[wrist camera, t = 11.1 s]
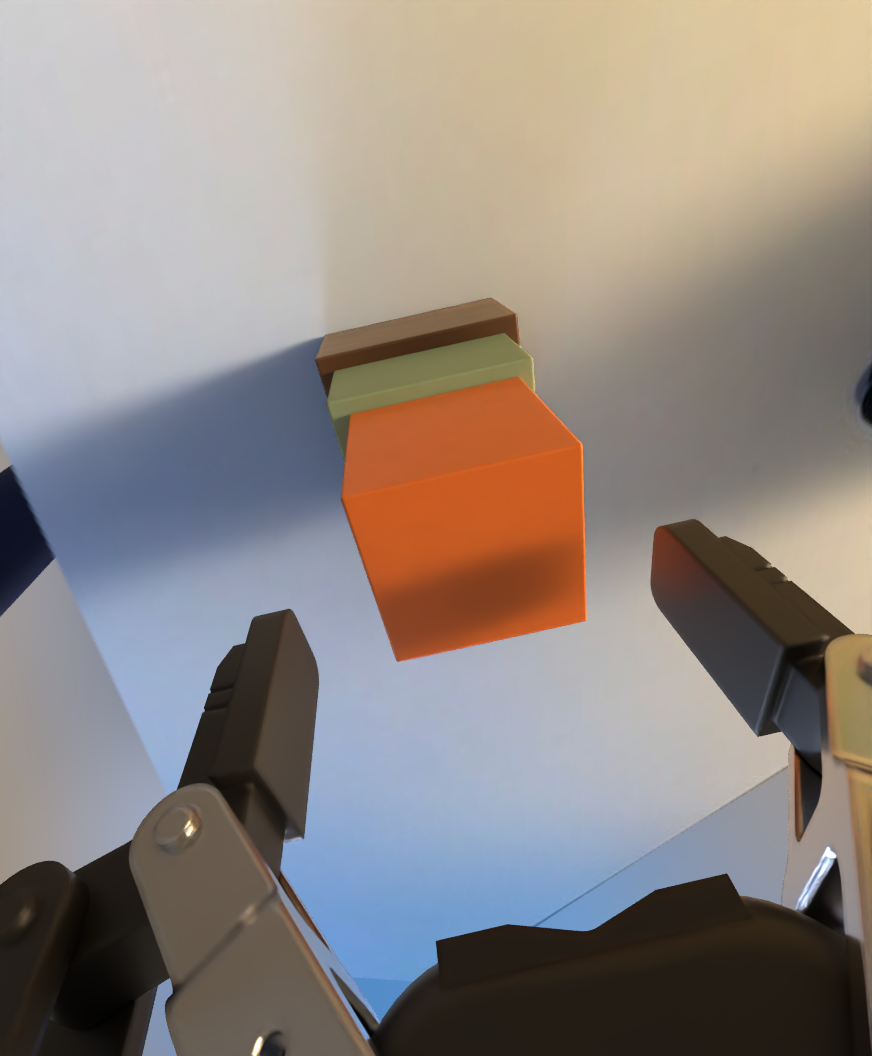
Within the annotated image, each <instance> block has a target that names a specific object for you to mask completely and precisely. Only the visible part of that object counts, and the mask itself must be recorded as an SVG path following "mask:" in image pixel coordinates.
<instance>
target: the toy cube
mask: <svg viewBox="0 0 872 1056" xmlns="http://www.w3.org/2000/svg"><path fill="white" fill-rule="evenodd" d="M341 502H342V505H343V508H344V510H345V513H346V516H347V519H348V522H349V525H350V528H351V531H352V534H353V537H354V539H355V542H356V545H357V548H358V551H359V554H360V557H361V560H362V563H363V565H364V568H365V571H366V574H367V577H368V580H369V583H370V586H371V589H372V592H373V594H374V597H375V600H376V603H377V606H378V609H379V612H380V615H381V618H382V621H383V623H384V626H385V629H386V632H387V635H388V638H389V641H390V644H391V647H392V649H393V652H394V655H395V658H396V660H397V662H402V661H407V660H411V659H416V658H420V657H425V656H429V655H434V654H439V653H443V652H448V651H452V650H457V649H461V648H466V647H470V646H475V645H479V644H484V643H488V642H493V641H497V640H502V639H507V638H511V637H516V636H520V635H525V634H529V633H534V632H538V631H543V630H547V629H552V628H556V627H561V626H565V625H570V624H575V623H579V622H584V621H586V574H585V529H584V484H583V445H582V443H581V442H580V441H579V440H578V439H577V438H576V437H575V436H574V435H573V434H572V433H571V432H570V431H569V430H568V428H567V427H566V426H565V425H564V424H563V423H562V422H561V421H560V420H559V419H558V418H557V417H556V416H555V415H554V413H553V412H552V411H551V410H550V409H549V408H548V407H547V406H546V405H545V404H544V403H543V402H542V401H541V400H540V398H539V397H538V396H537V395H536V394H535V393H534V392H533V391H532V390H531V389H530V388H529V387H528V386H527V385H526V384H525V382H524V381H523V380H522V379H521V378H520V377H514V378H510V379H505V380H501V381H496V382H492V383H487V384H483V385H478V386H474V387H469V388H465V389H461V390H456V391H452V392H447V393H443V394H438V395H434V396H429V397H425V398H420V399H416V400H412V401H407V402H403V403H398V404H394V405H389V406H385V407H380V408H376V409H371V410H367V411H363V412H358V413H354V414H351V415H350V416H349V426H348V435H347V445H346V454H345V464H344V474H343V483H342V493H341Z"/></svg>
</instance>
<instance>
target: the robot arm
mask: <svg viewBox="0 0 872 1056" xmlns="http://www.w3.org/2000/svg"><path fill="white" fill-rule="evenodd" d="M651 590H652V594H653V597H654V600H655V602H656V604H657V606H658V608H659V609H660V611H661V612H662V613H663V615H664V616H665V617H666V618H667V620H668V621H669V622H670V624H671V625H672V626H673V628H674V629H675V630H676V631H677V633H678V634H679V635H680V637H681V638H682V639H683V641H684V642H685V643H686V644H687V646H688V647H689V648H690V650H691V651H692V652H693V654H694V655H695V656H696V657H697V659H698V660H699V661H700V663H701V664H702V665H703V667H704V668H705V669H706V670H707V672H708V673H709V674H710V676H711V677H712V678H713V680H714V681H715V682H716V683H717V685H718V686H719V687H720V689H721V690H722V691H723V693H724V694H725V695H726V696H727V698H728V699H729V700H730V702H731V703H732V704H733V706H734V707H735V708H736V709H737V711H738V712H739V713H740V715H741V716H742V717H743V719H744V720H745V721H746V722H747V724H748V725H749V726H750V728H751V729H752V730H753V732H754V733H755V734H756V735H757V737H759V736H764V735H768V734H772V733H777V732H781V731H782V732H783V733H784V735H785V736H786V737H787V738H788V739H789V741H790V742H791V745H790V748H789V753H788V857H787V865H786V870H785V875H784V880H783V887H782V896H781V905H779V904H775V903H773V902H769V901H766V900H762V899H757V898H752V897H747V896H739V894H738V892H737V890H736V889H735V887H734V885H733V883H732V881H731V880H730V878H729V876H728V874H722V875H718V876H714V877H710V878H706V879H701V880H697V881H692V882H688V883H684V884H680V885H675V886H671V887H667V888H662V889H658V890H655V891H653V892H652V893H650V894H649V895H647V896H646V897H644V898H642V899H641V900H639V901H638V902H636V903H635V904H633V905H632V906H630V907H628V908H627V909H625V910H624V911H622V912H621V913H619V914H618V915H616V916H614V917H613V918H611V919H610V920H608V921H606V922H605V923H603V924H602V925H601V926H599V927H597V928H595V929H593V930H590V931H572V930H562V929H551V928H540V927H530V926H520V925H509V924H507V925H503V926H498V927H494V928H490V929H486V930H481V931H477V932H473V933H468V934H464V935H460V936H455V937H451V938H447V939H442V940H438V941H436V947H437V957H438V963H437V964H436V965H434V966H433V967H431V968H429V969H428V970H426V971H425V972H424V973H423V974H422V975H421V976H419V977H418V978H417V979H416V980H415V981H413V982H412V983H411V984H410V985H409V986H408V987H407V988H406V990H405V991H404V992H403V993H402V994H401V995H400V996H399V997H398V998H397V999H396V1001H395V1002H394V1004H393V1005H392V1006H391V1008H390V1009H389V1010H388V1012H387V1013H386V1014H385V1016H384V1017H383V1019H382V1020H381V1021H380V1019H379V1018H378V1016H377V1015H376V1013H375V1011H374V1010H373V1008H372V1007H371V1005H370V1004H369V1002H368V1001H367V1000H366V998H365V996H364V995H363V993H362V992H361V990H360V989H359V987H358V986H357V984H356V983H355V981H354V980H353V979H352V977H351V976H350V974H349V973H348V972H347V970H346V969H345V967H344V966H343V965H342V963H341V962H340V960H339V959H338V957H337V956H336V954H335V953H334V951H333V949H332V948H331V946H330V945H329V943H328V942H327V940H326V938H325V937H324V935H323V934H322V932H321V931H320V929H319V927H318V926H317V924H316V923H315V921H314V920H313V918H312V916H311V915H310V913H309V912H308V910H307V909H306V907H305V905H304V904H303V902H302V901H301V899H300V898H299V896H298V894H297V893H296V891H295V890H294V888H293V887H292V885H291V883H290V882H289V880H288V879H287V877H286V876H285V874H284V872H283V871H282V870H281V868H280V866H281V858H282V851H283V844H284V843H288V842H292V841H297V840H301V839H304V833H305V823H306V812H307V802H308V792H309V781H310V771H311V761H312V750H313V740H314V730H315V719H316V709H317V699H318V689H319V675H318V668H317V663H316V660H315V657H314V655H313V652H312V650H311V648H310V646H309V644H308V642H307V640H306V637H305V635H304V633H303V631H302V629H301V627H300V624H299V622H298V620H297V618H296V616H295V614H294V612H293V611H292V610H291V609H286V610H282V611H277V612H273V613H268V614H264V615H259V616H256V617H254V618H253V619H252V622H251V625H250V628H249V632H248V635H247V639H246V643H245V644H240V645H236V646H233V647H232V649H231V650H230V651H229V653H228V654H227V655H226V657H225V658H224V659H223V661H222V662H221V663H220V665H219V666H218V667H217V670H216V673H215V676H214V679H213V682H212V685H211V688H210V690H211V693H210V694H208V697H207V700H206V704H205V707H204V709H205V712H203V713H202V716H201V719H200V722H199V725H198V728H197V731H196V734H195V737H194V740H193V743H192V746H191V749H190V752H189V755H188V758H187V761H186V764H185V767H184V770H183V773H182V776H181V779H180V782H179V785H178V788H177V790H176V791H174V792H172V793H171V794H169V795H168V796H166V797H165V798H164V799H162V801H160V802H159V803H158V804H157V805H156V806H155V807H154V808H153V809H152V810H151V811H150V812H149V813H148V814H147V816H146V817H145V818H144V819H143V821H142V822H141V824H140V826H139V827H138V829H137V831H136V833H135V835H134V837H133V839H132V840H131V841H129V842H128V843H126V844H124V845H122V846H121V847H119V848H117V849H115V850H113V851H112V852H109V853H108V854H106V855H104V856H102V857H101V858H98V859H97V860H95V861H93V862H91V863H89V864H87V865H86V866H84V867H82V868H80V869H78V870H76V871H75V872H72V871H70V870H69V869H68V868H66V867H65V866H64V865H62V864H61V863H59V862H55V861H43V862H39V863H36V864H33V865H31V866H28V867H26V868H25V869H22V870H20V871H19V872H17V873H16V874H14V875H13V876H11V877H10V878H9V879H7V880H6V881H5V882H3V883H2V884H1V885H0V1056H142V1053H143V1049H144V1044H145V1040H146V1035H147V1031H148V1027H149V1022H150V1018H151V1014H152V1009H153V1005H154V1001H155V996H156V992H157V987H158V985H159V984H161V983H162V982H164V981H165V980H167V979H169V978H170V979H171V982H172V988H173V994H172V995H171V996H170V997H169V998H168V999H167V1001H166V1004H165V1014H166V1021H167V1025H168V1029H169V1032H170V1036H171V1039H172V1042H173V1045H174V1048H175V1051H176V1054H177V1056H872V635H868V634H855V633H853V632H852V631H851V630H850V629H849V628H847V627H846V626H845V625H844V624H843V623H841V622H840V621H839V620H838V619H837V618H835V617H834V616H833V615H832V614H831V613H829V612H828V611H827V610H826V609H825V608H823V607H822V606H821V605H820V604H819V603H817V602H816V601H815V600H814V599H813V598H811V597H810V596H809V595H808V594H807V593H805V592H804V591H803V590H802V589H801V588H799V587H798V586H797V585H796V584H795V583H793V582H792V581H788V580H787V577H786V576H785V575H784V574H783V573H781V572H780V571H779V570H778V569H777V568H775V567H773V568H772V567H771V563H769V562H768V561H767V560H766V559H765V558H763V557H762V556H761V555H760V554H759V553H757V552H756V551H755V550H754V549H753V548H751V547H749V546H746V545H744V544H742V543H740V542H738V541H735V540H733V539H731V538H729V537H726V536H724V537H720V538H718V537H717V536H716V535H714V534H713V533H712V532H711V531H710V530H709V529H708V528H706V527H705V526H704V525H703V524H702V523H701V522H699V521H698V520H696V519H691V520H686V521H682V522H677V523H673V524H668V525H664V526H660V527H658V528H657V529H656V530H655V533H654V542H653V555H652V568H651Z"/></svg>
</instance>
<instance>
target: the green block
mask: <svg viewBox="0 0 872 1056" xmlns="http://www.w3.org/2000/svg"><path fill="white" fill-rule="evenodd" d="M514 377H520V378H521V379H522V380H523V381H524V382H525V384H526V385H527V386H528V387H529V388H530V389H531V390H532V391H533V392H534V393H535V394H536V392H535V379H534V365H533V358H532V357H531V356H530V355H529V354H528V353H527V352H525V351H524V350H523V349H522V348H521V347H520V346H519V345H517V344H516V343H515V342H514V341H513V340H512V339H510V338H509V337H508V336H507V335H506V334H505V333H501V334H497V335H493V336H488V337H484V338H479V339H475V340H470V341H466V342H461V343H457V344H452V345H448V346H443V347H439V348H434V349H430V350H425V351H421V352H416V353H412V354H407V355H403V356H398V357H394V358H390V359H385V360H381V361H376V362H372V363H367V364H363V365H358V366H354V367H349V368H345V369H340V370H336V371H334V373H333V378H332V382H331V386H330V390H329V395H328V399H327V403H326V406H327V409H328V412H329V415H330V418H331V421H332V424H333V428H334V431H335V434H336V437H337V440H338V443H339V446H340V449H341V452H342V455H343V459H344V462H345V454H346V445H347V435H348V426H349V416H350V415H351V414H354V413H358V412H363V411H367V410H371V409H376V408H380V407H385V406H389V405H394V404H398V403H403V402H407V401H412V400H416V399H420V398H425V397H429V396H434V395H438V394H443V393H447V392H452V391H456V390H461V389H465V388H469V387H474V386H478V385H483V384H487V383H492V382H496V381H501V380H505V379H510V378H514Z"/></svg>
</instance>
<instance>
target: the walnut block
mask: <svg viewBox="0 0 872 1056" xmlns="http://www.w3.org/2000/svg"><path fill="white" fill-rule="evenodd" d="M501 333H505V334H506V335H507V336H508V337H509V338H510V339H512V340H513V341H514V342H515V343H516V344H517V345H519V346H520V342H519V330H518V319H517V314H515V313H514V312H512V311H511V310H509V309H508V308H506V307H505V306H503V305H502V304H500V303H499V302H497V301H496V300H494V299H493V298H488V299H484V300H479V301H475V302H470V303H466V304H461V305H457V306H452V307H448V308H443V309H439V310H434V311H430V312H426V313H421V314H417V315H412V316H408V317H403V318H399V319H394V320H390V321H385V322H381V323H376V324H372V325H368V326H363V327H359V328H354V329H350V330H345V331H341V332H336V333H332V334H327V335H325V336H324V338H323V341H322V343H321V346H320V349H319V351H318V354H317V356H316V359H315V362H316V365H317V368H318V371H319V374H320V377H321V380H322V384H323V387H324V390H325V393H326V396H327V399H328V395H329V390H330V386H331V382H332V378H333V373H334V371H336V370H340V369H345V368H349V367H354V366H358V365H363V364H367V363H372V362H376V361H381V360H385V359H390V358H394V357H398V356H403V355H407V354H412V353H416V352H421V351H425V350H430V349H434V348H439V347H443V346H448V345H452V344H457V343H461V342H466V341H470V340H475V339H479V338H484V337H488V336H493V335H497V334H501Z"/></svg>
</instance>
